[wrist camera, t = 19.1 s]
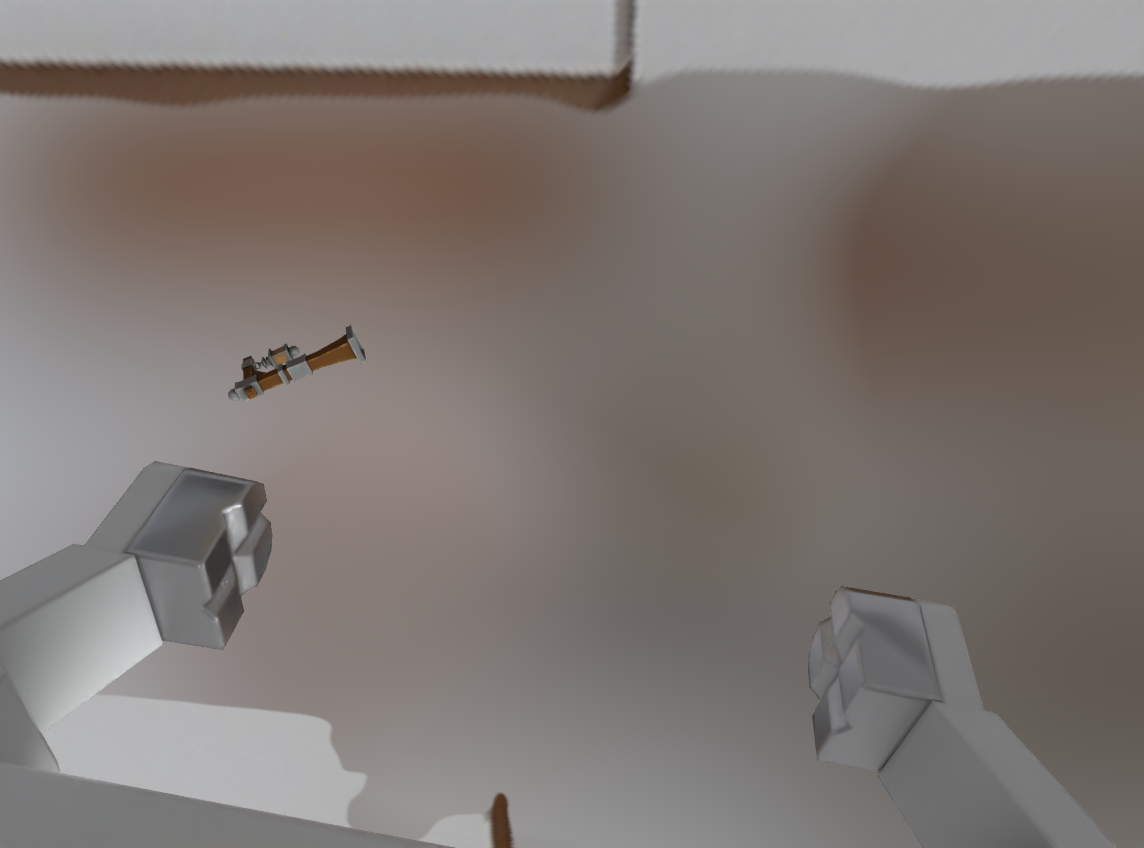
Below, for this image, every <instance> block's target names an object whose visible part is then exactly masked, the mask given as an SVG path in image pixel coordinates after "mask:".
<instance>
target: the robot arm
mask: <svg viewBox="0 0 1144 848" xmlns="http://www.w3.org/2000/svg"><path fill="white" fill-rule="evenodd" d="M266 501H267V499H266V494H265V489H264V484H262V483H259V482H257V481H252V480H247V479H242V478H237V477H233V476H228V475H223V474H217V473H213V472H208V471H203V470H199V469H194V468H187V467H182V466H177V465H172V464H166V463H162V462H157V461H155V462H153V463H151V464H150V465H148V466H146V467H145V468H144V469H143V470H142V471H141V473H140V474H139V475H138V476H137V478H136V479H135V480H134V482H133V483H132V484H131V485H130V487H129V488H128V489H127V491H126V492H125V493H124V494H123V496H122V497H121V498H120V500H119V501H118V502H117V504H116V505H115V506H114V507H113V509H112V510H111V511H110V513H109V514H108V515H107V517H106V518H105V519H104V520H103V522H102V523H101V524H100V526H99V527H98V528H97V529H96V531H95V532H94V534H93V535H92V536H91V537H90V539H89V540H88V541H87V543H86V544H85V545H78V544H72V545H70V546H68V547H66V548H64V549H62V550H60V551H58V552H56V553H54V554H52V555H50V556H48V557H46V558H44V559H42V560H40V561H38V562H36V563H34V564H33V565H30V566H28V567H26V568H24V569H22V570H20V571H18V572H16V573H14V574H13V575H10V576H8V577H6V578H4V579H2V580H0V848H454V847H448V846H443V845H438V844H433V843H427V842H422V841H417V840H411V839H406V838H400V837H395V836H390V835H385V834H380V833H374V832H369V831H364V830H358V829H353V828H348V827H343V826H337V825H332V824H327V823H321V822H316V821H311V820H306V819H300V818H295V817H290V816H284V815H279V814H274V813H269V812H263V811H258V810H253V809H247V808H242V807H237V806H232V805H226V804H221V803H216V802H210V801H205V800H200V799H195V798H189V797H184V796H179V795H173V794H168V793H163V792H157V791H152V790H147V789H142V788H136V787H131V786H126V785H120V784H115V783H110V782H105V781H99V780H94V779H89V778H83V777H78V776H73V775H68V774H62V773H59V772H60V770H59V766H58V762H57V760H56V758H55V756H54V755H53V753H52V751H51V749H50V747H49V746H48V744H47V742H46V740H45V738H44V737H43V735H42V733H43V732H45V731H46V730H47V729H49V728H50V727H51V726H53V725H54V724H55V723H57V722H58V721H60V720H61V719H62V718H64V717H65V716H66V715H68V714H69V713H70V712H72V711H73V710H74V709H76V708H77V707H78V706H80V705H81V704H82V703H84V702H85V701H87V700H88V699H89V698H91V697H92V696H93V695H95V694H96V693H97V692H99V691H100V690H101V689H103V688H104V687H105V686H107V685H108V684H109V683H111V682H112V681H114V680H115V679H116V678H117V677H119V676H120V675H122V674H123V673H124V672H126V671H127V670H128V669H130V668H131V667H132V666H134V665H135V664H136V663H138V662H139V661H141V660H142V659H143V658H144V657H146V656H147V655H149V654H150V653H151V652H153V651H154V650H155V649H157V648H158V647H159V646H161V645H162V644H163V643H162V640H163V641H169V642H175V643H182V644H188V645H194V646H201V647H207V648H214V649H220V650H223V649H224V647H225V646H226V644H227V642H228V640H229V638H230V636H231V634H232V632H233V631H234V629H235V627H236V625H237V623H238V621H239V619H240V618H241V616H242V614H243V612H244V609H243V604H242V600H241V596H242V595H243V594H245V593H246V592H248V591H250V590H251V589H253V588H254V587H256V586H257V585H258V583H259V582H260V580H261V577H262V576H263V574H264V572H265V570H266V567H267V563H268V559H269V556H270V553H271V546H272V529H271V523H270V521H269V520H268V519H266V517H265V516H264V515H263V514H262V513H261V510H262V509H263V507H264V505H265V503H266ZM830 611H831V617H829V618H827V619H825V620H823V621H821V622H819V624H818V627H817V629H816V631H815V633H814V635H813V638H812V642H811V647H810V652H809V663H808V674H809V686H810V688H811V690H812V691H813V692H814V694H815V695H816V696H817V697H818V699H819V700H820V703H819V705H818V707H817V709H816V710H815V712H814V714H813V716H812V717H813V726H814V736H815V746H816V755H817V760H820V761H824V762H829V763H834V764H838V765H843V766H848V767H852V768H857V769H862V770H866V771H871V772H876V773H879V775H878V778H879V779H880V781H881V782H882V784H883V786H884V787H885V789H886V790H887V792H888V793H889V795H890V797H891V798H892V800H893V802H894V803H895V805H896V806H897V808H898V809H899V811H900V813H901V814H902V816H903V817H904V819H905V821H906V822H907V824H908V825H909V827H910V829H911V830H912V832H913V833H914V835H915V837H916V838H917V840H918V841H919V843H920V845H921V846H922V848H1117V846H1116V845H1115V844H1114V843H1113V842H1112V841H1111V840H1110V839H1109V838H1108V836H1107V835H1106V834H1105V833H1104V832H1103V831H1102V830H1101V829H1100V828H1099V827H1098V826H1097V824H1096V823H1095V822H1094V821H1093V820H1092V819H1091V818H1090V817H1089V816H1088V814H1087V813H1086V812H1085V811H1084V810H1083V809H1082V808H1081V807H1080V806H1079V805H1078V804H1077V802H1076V801H1075V800H1074V799H1073V798H1072V797H1071V796H1070V795H1069V794H1068V793H1067V791H1066V790H1065V789H1064V788H1063V787H1062V786H1061V785H1060V784H1059V783H1058V781H1057V780H1056V779H1055V778H1054V777H1053V776H1052V775H1051V774H1050V773H1049V771H1048V770H1047V769H1046V768H1045V767H1044V766H1043V765H1042V764H1041V763H1040V762H1039V761H1038V759H1037V758H1036V757H1035V756H1034V755H1033V754H1032V753H1031V752H1030V751H1029V749H1028V748H1027V747H1026V746H1025V745H1024V744H1023V743H1022V742H1021V741H1020V740H1019V739H1018V737H1017V736H1016V735H1015V734H1014V733H1013V732H1012V731H1011V730H1010V729H1009V727H1008V726H1007V725H1006V724H1005V723H1004V722H1003V721H1002V720H1001V719H1000V717H999V716H998V715H996V713H994V712H989V711H985V710H984V708H983V704H982V701H981V698H980V694H979V690H978V687H977V683H976V679H975V676H974V672H973V669H972V665H971V662H970V658H969V655H968V651H967V647H966V644H965V640H964V637H963V633H962V629H961V626H960V622H959V619H958V615H957V612H956V611H955V610H954V608H953V607H952V606H951V605H946V604H940V603H934V602H929V601H923V600H918V599H911V598H909V597H903V596H897V595H891V594H885V593H879V592H872V591H867V590H861V589H855V588H849V587H843V586H841V587H840V588H839V589H838V590H836V591H835V593H834V595H833V597H832V599H831V601H830Z"/></svg>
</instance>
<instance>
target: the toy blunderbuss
mask: <svg viewBox="0 0 1144 848" xmlns="http://www.w3.org/2000/svg"><path fill="white" fill-rule="evenodd" d="M346 333H347V334H346V335H344V336H343V337H341V338H340V339H338V340H337V341H335V342H333V343H331V344H330V345H328V346H326V347H324V348H322V349H321V350H319V351H317V352H315V353H313V354H310V355H308V356H306V355H305V354H304V355H302V356H301V357H298V358H295V359H293V356H297V355H298V354H299V349H298V348H297V347H296V346H291V347H290V348H289V347H288V346H287V344H285V345H284V346H283V347H280V348H278V349H276V350H274V351H271V349H269V353H268V354H269V355H268V358H267V357H266V360H265V359H264V358H263V357H262V362H260V363H258V362H256V363H255V362H254V360H253V358H252V357H251V356H249V357H247V358H244V359H243V363H242V370H243V372H244V373H243V375H244V380H242V381H240V382H236V383H235V389H231V390H230V391H229V393H228V396H229V398H230V399H231V400H233V401H237V400H239V399H241V401H242V403H244V402H245V401H246V400H249V399H252V398H254V397H256V396H258V395H263V394H264V391H265V390H267V389H270V388H273V387H275V386H277V385H280V384H283V383H284V384H285V385H287V384H290V380H293V381H294V382H295V381H297V380H298V379H300V378H302V377H305V376H307V375H311V374H313V371H314V370H317V369H319V368H322V367H325V366H328V365H332V364H335V363H339V362H342V361H345V360H350V359H355V358H357V359H358V361H359V363H362V362H366V358H365V353H364V348H363V346H362V344H361V342H360V340H359V338H358V337H357V335H356V332H355V330H354V328H353V327H352V325H350V326H349V327H346ZM261 363H262V365H261ZM256 364H258V365H259V366H260V367H259V368H256ZM267 364H268V365H269V366H270V365H272V366H273V367H274V368H275V369H274V370H272V371H270V372H267V373H265V372H260V371H257V370H258V369H260V368H261V366H264V367H265V368H266V369H267ZM283 364H286V365H283Z"/></svg>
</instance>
